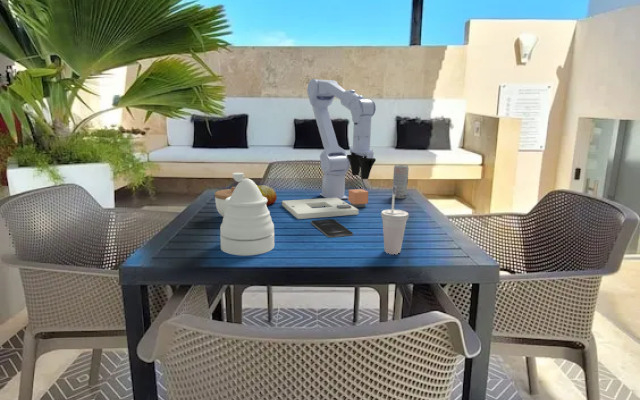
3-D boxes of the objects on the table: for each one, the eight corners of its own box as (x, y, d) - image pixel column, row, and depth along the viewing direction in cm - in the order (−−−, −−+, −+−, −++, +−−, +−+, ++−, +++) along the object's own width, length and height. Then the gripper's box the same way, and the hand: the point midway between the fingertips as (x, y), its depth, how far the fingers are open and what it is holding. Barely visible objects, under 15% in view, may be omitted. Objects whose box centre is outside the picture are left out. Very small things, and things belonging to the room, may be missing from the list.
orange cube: (348, 204, 149) (348, 189, 148) (361, 203, 151) (361, 188, 150) (354, 207, 145) (354, 192, 144) (367, 206, 146) (368, 191, 145)
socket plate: (282, 205, 146) (282, 199, 145) (336, 201, 153) (336, 195, 152) (297, 219, 129) (298, 211, 129) (358, 214, 136) (358, 207, 136)
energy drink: (405, 195, 165) (408, 164, 162) (407, 199, 160) (409, 166, 157) (391, 195, 165) (393, 164, 163) (392, 198, 160) (394, 166, 157)
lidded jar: (258, 215, 132) (258, 185, 130) (238, 224, 123) (237, 192, 121) (230, 211, 137) (229, 182, 134) (208, 219, 127) (206, 188, 125)
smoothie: (376, 247, 106) (379, 191, 102) (402, 247, 106) (405, 191, 103) (382, 256, 99) (385, 197, 96) (409, 256, 100) (413, 197, 97)
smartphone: (328, 236, 112) (309, 220, 126) (328, 239, 112) (309, 223, 126) (354, 234, 115) (333, 218, 128) (354, 237, 115) (333, 221, 129)
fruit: (276, 206, 143) (269, 183, 141) (246, 214, 144) (239, 192, 142) (280, 198, 154) (273, 177, 152) (252, 205, 154) (245, 184, 153)
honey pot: (226, 258, 96) (224, 179, 92) (216, 241, 108) (213, 170, 104) (281, 251, 101) (281, 176, 97) (265, 235, 113) (265, 167, 109)
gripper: (382, 138, 137) (380, 180, 140) (363, 134, 150) (361, 173, 153) (362, 138, 135) (360, 181, 138) (344, 134, 148) (343, 173, 151)
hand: (360, 177), depth 145 cm, fingers open, 7 cm apart
